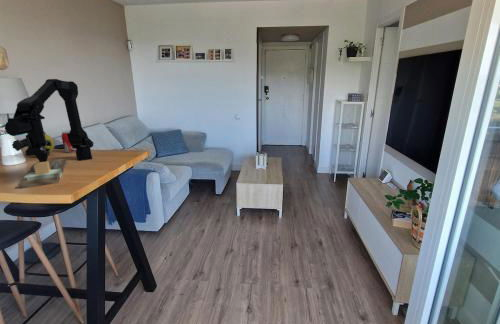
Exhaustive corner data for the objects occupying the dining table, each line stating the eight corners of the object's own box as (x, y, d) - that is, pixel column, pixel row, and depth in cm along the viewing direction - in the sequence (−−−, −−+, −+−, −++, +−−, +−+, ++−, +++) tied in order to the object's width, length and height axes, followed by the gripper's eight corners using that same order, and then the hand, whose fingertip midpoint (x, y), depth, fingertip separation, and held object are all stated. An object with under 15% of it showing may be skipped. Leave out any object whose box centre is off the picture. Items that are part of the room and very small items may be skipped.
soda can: (68, 153, 157) (64, 133, 154) (62, 152, 161) (58, 132, 158) (81, 151, 163) (77, 131, 160) (75, 149, 167) (71, 130, 163)
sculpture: (25, 151, 157) (30, 128, 156) (51, 156, 164) (57, 134, 164) (21, 156, 145) (27, 132, 144) (50, 161, 152) (56, 138, 151)
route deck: (66, 163, 139) (64, 154, 138) (58, 182, 112) (55, 172, 111) (38, 166, 134) (35, 158, 133) (21, 188, 107) (18, 177, 105)
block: (50, 169, 121) (48, 161, 119) (48, 172, 117) (46, 163, 116) (38, 171, 119) (35, 162, 118) (35, 174, 115) (33, 165, 114)
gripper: (17, 129, 120) (26, 163, 125) (4, 137, 104) (15, 175, 109) (48, 127, 125) (55, 159, 130) (39, 134, 109) (48, 171, 114)
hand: (44, 166), depth 120 cm, fingers closed
